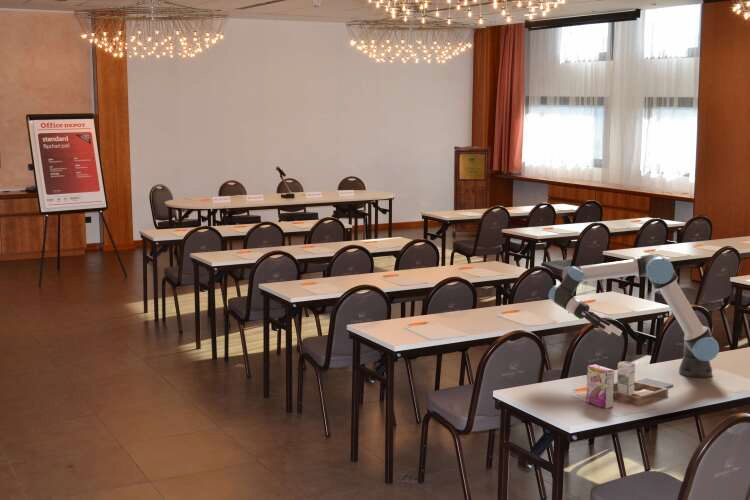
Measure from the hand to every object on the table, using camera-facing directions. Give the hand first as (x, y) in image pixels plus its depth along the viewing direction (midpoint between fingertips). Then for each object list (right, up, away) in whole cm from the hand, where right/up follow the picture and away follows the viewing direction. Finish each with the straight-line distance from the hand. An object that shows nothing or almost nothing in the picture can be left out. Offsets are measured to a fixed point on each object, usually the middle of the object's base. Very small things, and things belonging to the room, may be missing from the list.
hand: (616, 332), depth 414 cm
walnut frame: (+4, -27, -12) cm, 30 cm away
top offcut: (+7, -26, -16) cm, 31 cm away
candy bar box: (-14, -29, -25) cm, 41 cm away
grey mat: (+17, -25, +4) cm, 30 cm away
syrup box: (+2, -27, -9) cm, 28 cm away
